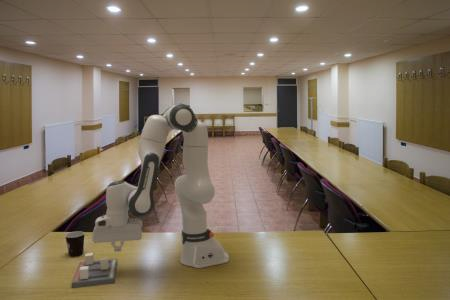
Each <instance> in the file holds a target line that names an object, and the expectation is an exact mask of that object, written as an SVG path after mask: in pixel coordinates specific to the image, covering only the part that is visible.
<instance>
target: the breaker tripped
mask: <svg viewBox="0 0 450 300" xmlns="http://www.w3.org/2000/svg"><path fill="white" fill-rule="evenodd" d="M108 259H109V257H101V258H100V259H99V260H100V266H101V270H106V269H108V268H109V261H108Z"/></svg>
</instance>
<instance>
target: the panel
mask: <svg viewBox="0 0 450 300" xmlns="http://www.w3.org/2000/svg"><path fill="white" fill-rule="evenodd" d="M100 260H101V259H99V260H94V262H93V264H90V265H85V261H80V262H79V264H78V267H77V269H76V270H75V273H74V276H73V279H72V281H71V288H72V289H75V288H81V287H91V286H101V285H108V284H109V285H110V284H115V282H116V281H115V280H116V275H117V268H118V258H110V259H109V258H108V261H109V268H108V269H106V270H101V266H100ZM83 266H89V278H88V279H80V268H81V267H83Z"/></svg>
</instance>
